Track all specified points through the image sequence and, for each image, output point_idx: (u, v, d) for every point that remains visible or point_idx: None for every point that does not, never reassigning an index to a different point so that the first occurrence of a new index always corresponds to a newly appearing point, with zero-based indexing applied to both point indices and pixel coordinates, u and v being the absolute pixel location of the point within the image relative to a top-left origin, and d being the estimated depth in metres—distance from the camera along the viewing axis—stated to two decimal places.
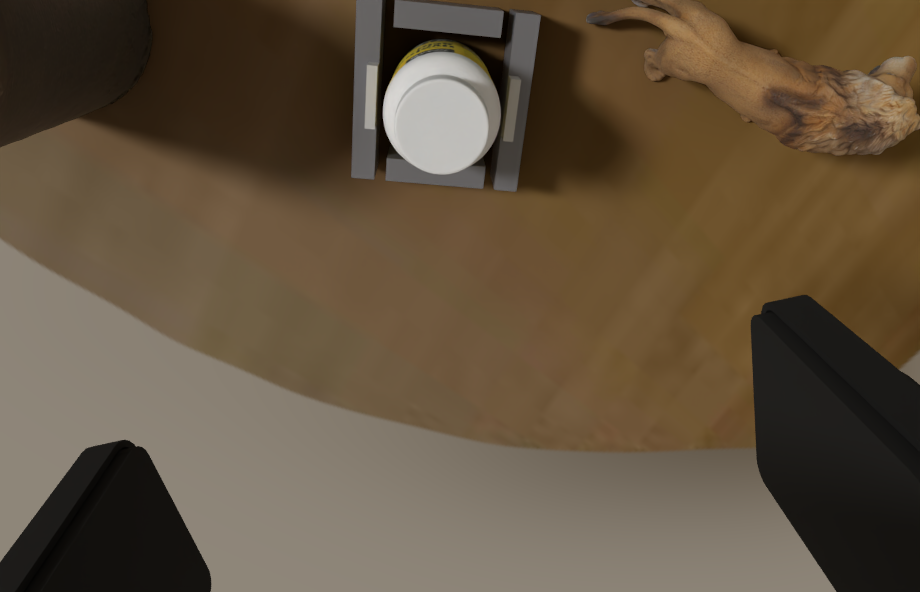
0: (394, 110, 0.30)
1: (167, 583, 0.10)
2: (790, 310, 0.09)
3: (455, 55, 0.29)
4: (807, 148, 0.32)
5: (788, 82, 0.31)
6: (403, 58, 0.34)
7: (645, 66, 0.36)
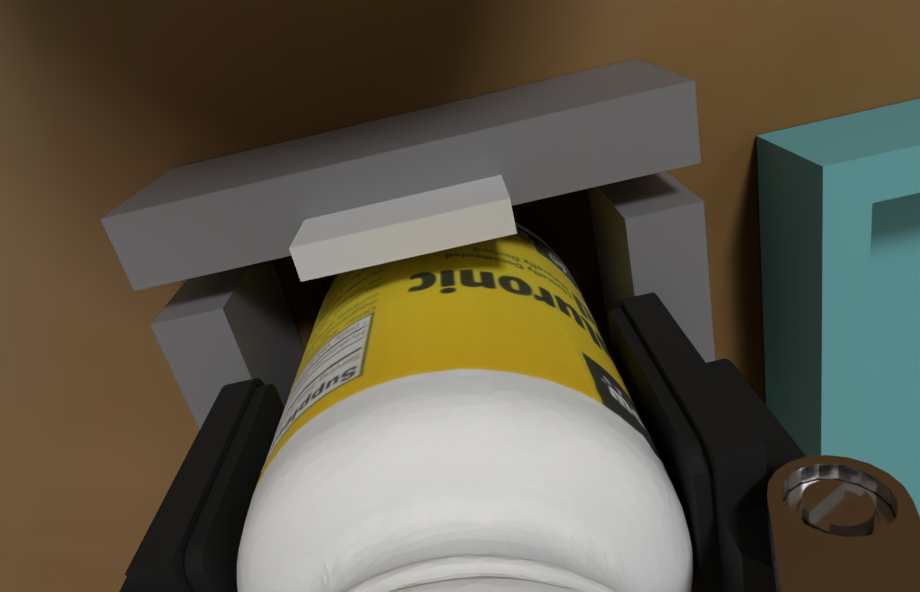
0: (437, 482, 0.06)
1: None
2: (635, 306, 0.10)
3: None
4: None
5: None
6: (525, 249, 0.11)
7: None
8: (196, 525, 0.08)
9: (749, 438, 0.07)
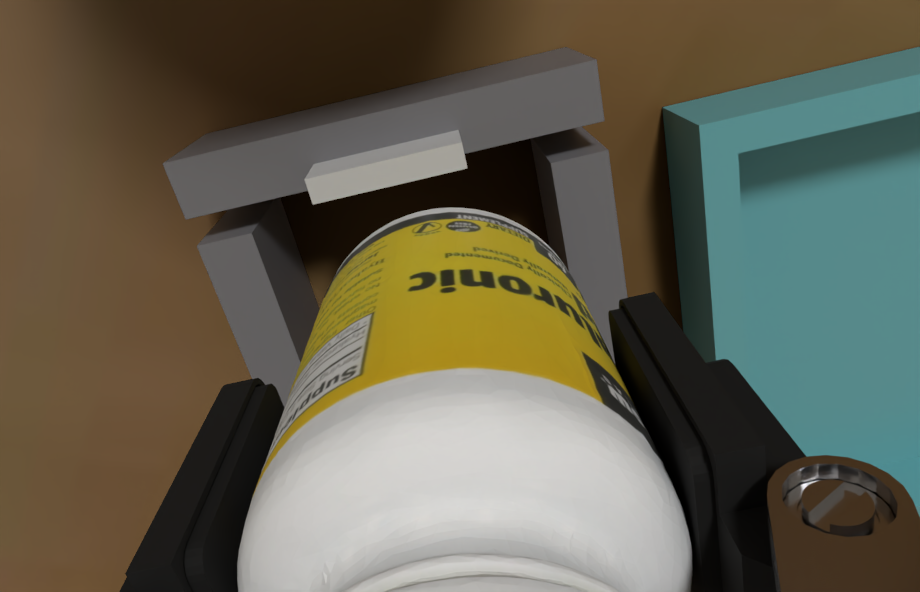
0: (438, 481, 0.06)
1: None
2: (635, 306, 0.10)
3: None
4: None
5: None
6: (524, 249, 0.11)
7: None
8: (196, 525, 0.08)
9: (748, 437, 0.07)
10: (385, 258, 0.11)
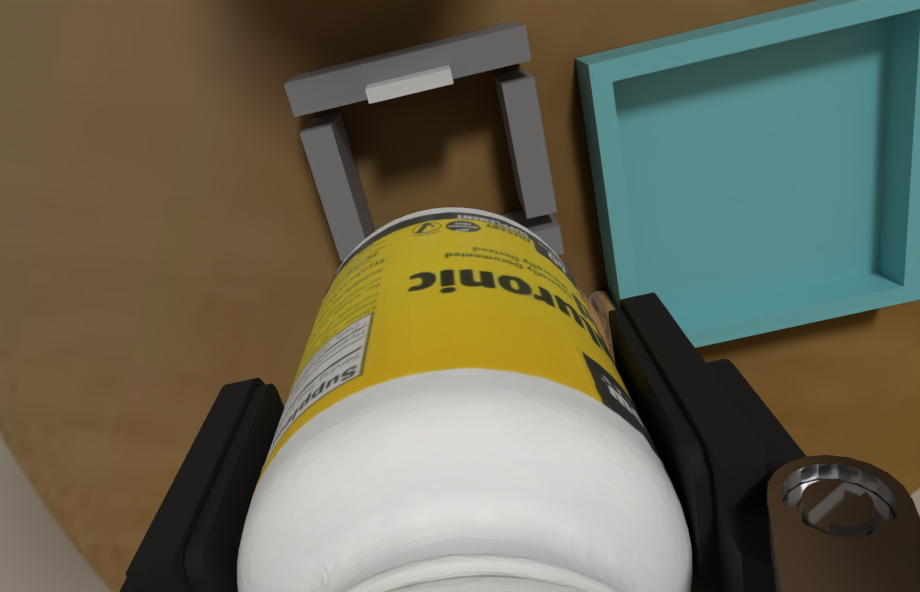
0: (437, 482, 0.06)
1: None
2: (635, 306, 0.10)
3: None
4: None
5: None
6: (524, 249, 0.11)
7: None
8: (196, 525, 0.08)
9: (749, 437, 0.07)
10: (385, 258, 0.11)
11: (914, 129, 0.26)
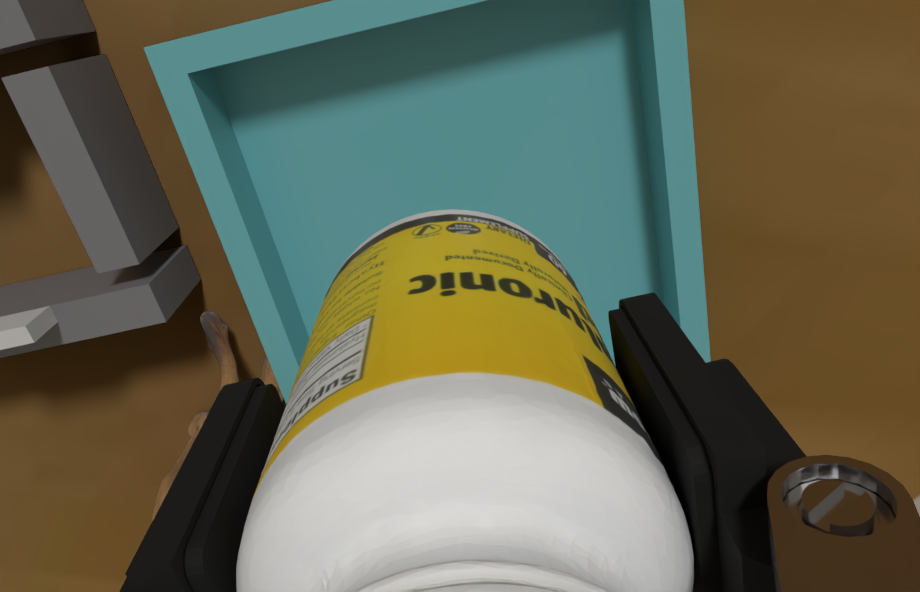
0: (438, 487, 0.06)
1: None
2: (635, 305, 0.10)
3: None
4: None
5: None
6: (525, 251, 0.11)
7: (197, 417, 0.23)
8: (196, 525, 0.08)
9: (749, 437, 0.07)
10: (385, 260, 0.11)
11: (664, 146, 0.18)
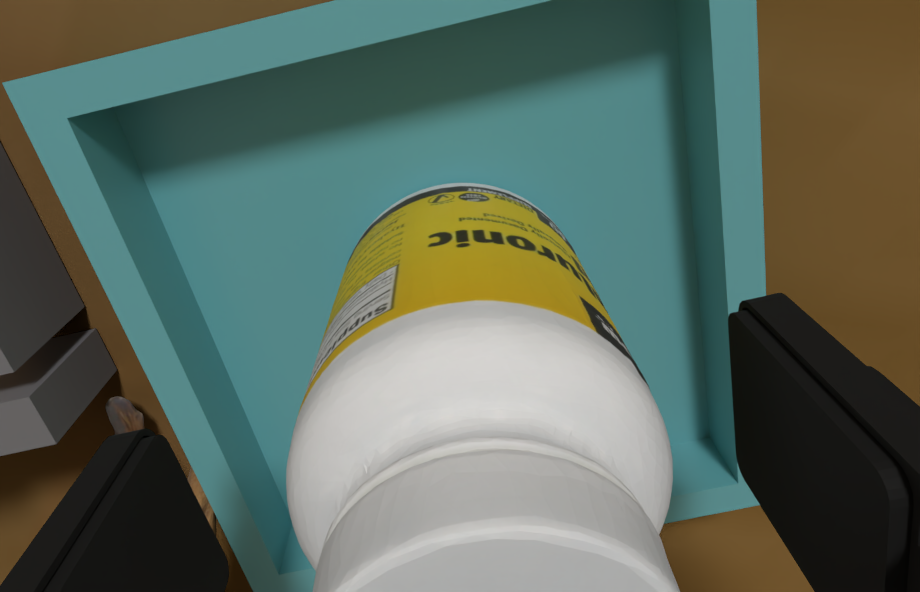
0: (459, 387, 0.08)
1: (187, 569, 0.10)
2: (765, 308, 0.09)
3: None
4: None
5: None
6: (528, 217, 0.13)
7: None
8: None
9: None
10: (405, 223, 0.12)
11: (722, 211, 0.13)
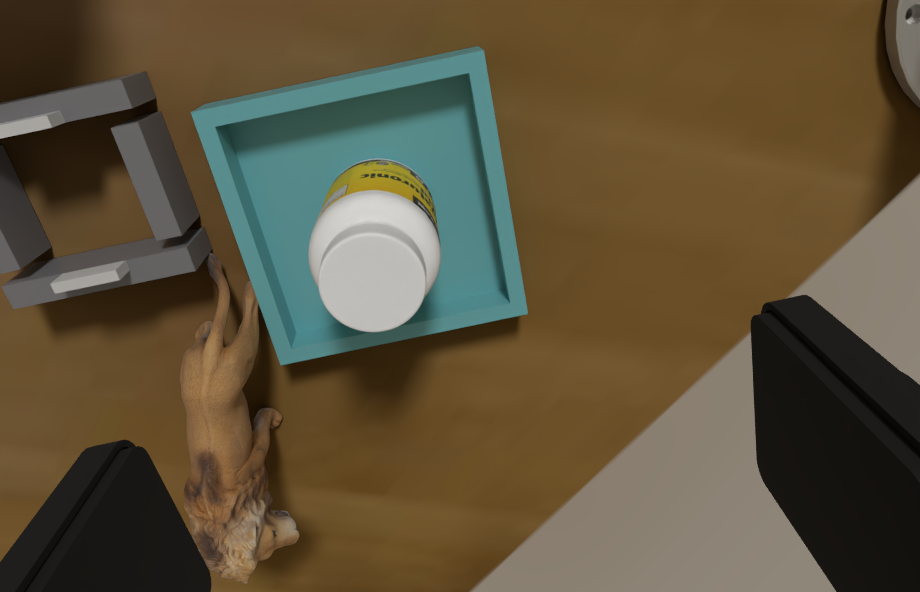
0: (365, 212, 0.26)
1: (167, 583, 0.10)
2: (790, 310, 0.09)
3: (440, 253, 0.27)
4: (186, 510, 0.33)
5: (225, 464, 0.32)
6: (404, 171, 0.31)
7: (201, 325, 0.35)
8: None
9: None
10: (352, 172, 0.30)
11: (487, 171, 0.31)
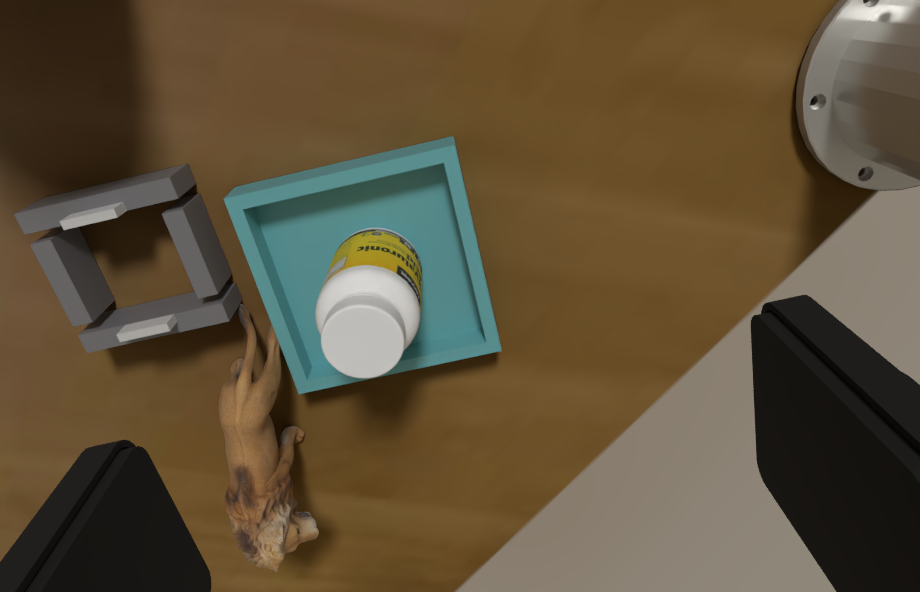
0: (357, 284, 0.33)
1: (167, 583, 0.10)
2: (790, 310, 0.09)
3: (418, 313, 0.35)
4: (227, 512, 0.41)
5: (257, 475, 0.40)
6: (394, 240, 0.38)
7: (235, 361, 0.43)
8: None
9: None
10: (352, 243, 0.38)
11: (462, 238, 0.38)
